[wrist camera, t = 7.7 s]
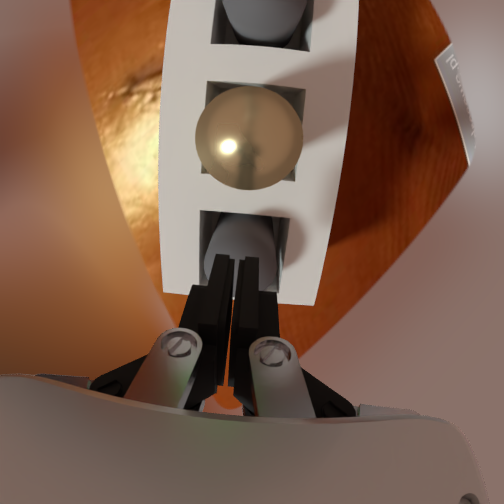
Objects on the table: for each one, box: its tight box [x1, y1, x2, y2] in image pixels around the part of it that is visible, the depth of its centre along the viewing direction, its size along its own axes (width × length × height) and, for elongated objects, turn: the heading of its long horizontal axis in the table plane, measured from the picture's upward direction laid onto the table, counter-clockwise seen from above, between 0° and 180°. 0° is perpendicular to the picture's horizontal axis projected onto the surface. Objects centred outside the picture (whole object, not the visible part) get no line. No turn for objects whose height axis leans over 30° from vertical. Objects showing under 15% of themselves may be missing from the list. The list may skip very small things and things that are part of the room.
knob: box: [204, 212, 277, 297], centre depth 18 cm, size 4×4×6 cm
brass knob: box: [195, 86, 303, 190], centre depth 12 cm, size 4×4×6 cm
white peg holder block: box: [158, 0, 359, 306], centre depth 16 cm, size 19×9×6 cm, turn 175°
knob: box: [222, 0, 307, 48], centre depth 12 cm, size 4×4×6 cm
